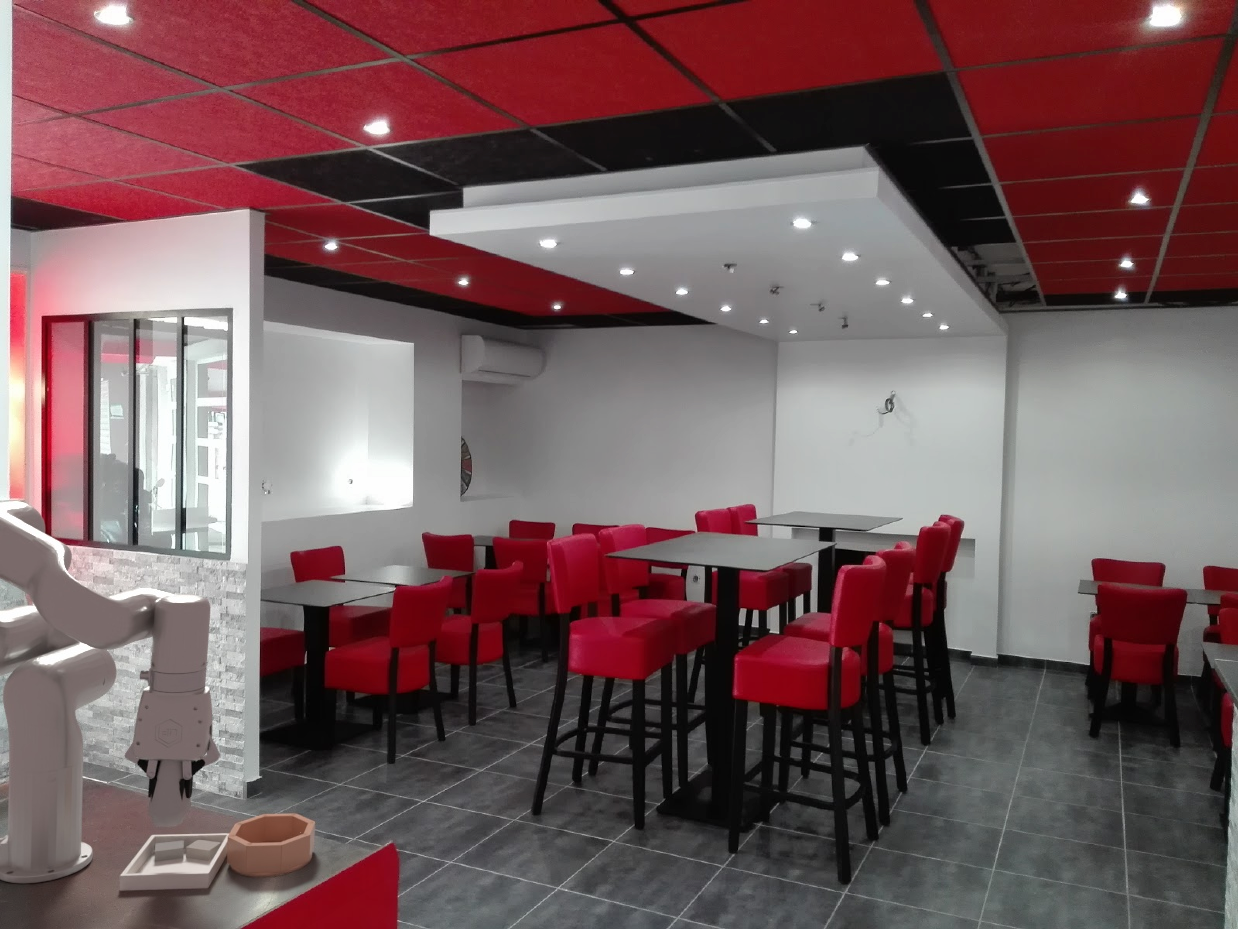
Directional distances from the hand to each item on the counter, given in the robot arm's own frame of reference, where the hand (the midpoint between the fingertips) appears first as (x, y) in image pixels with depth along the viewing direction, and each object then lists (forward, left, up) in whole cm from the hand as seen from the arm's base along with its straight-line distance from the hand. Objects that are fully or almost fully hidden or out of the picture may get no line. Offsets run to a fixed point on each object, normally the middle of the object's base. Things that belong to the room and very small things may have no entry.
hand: (169, 801), depth 144 cm
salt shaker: (0, 0, -3) cm, 3 cm away
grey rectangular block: (-1, +6, -11) cm, 12 cm away
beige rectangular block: (+4, +6, -11) cm, 13 cm away
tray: (+1, +2, -11) cm, 11 cm away
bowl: (+14, +4, -11) cm, 18 cm away
